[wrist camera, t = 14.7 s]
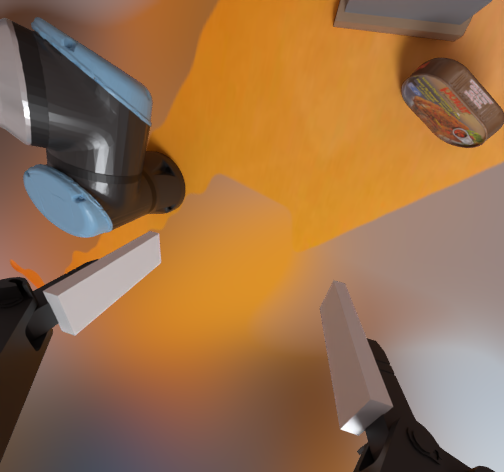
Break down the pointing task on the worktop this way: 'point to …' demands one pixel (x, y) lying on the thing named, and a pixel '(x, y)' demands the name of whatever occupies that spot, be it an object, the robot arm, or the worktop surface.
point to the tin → (452, 103)
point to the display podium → (410, 16)
